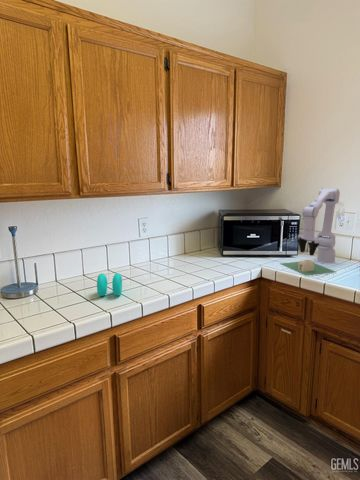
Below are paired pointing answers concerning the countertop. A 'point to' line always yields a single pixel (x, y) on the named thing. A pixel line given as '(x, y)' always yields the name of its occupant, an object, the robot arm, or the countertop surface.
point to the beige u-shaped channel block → (306, 265)
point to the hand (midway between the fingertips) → (307, 253)
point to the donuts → (103, 284)
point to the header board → (317, 270)
